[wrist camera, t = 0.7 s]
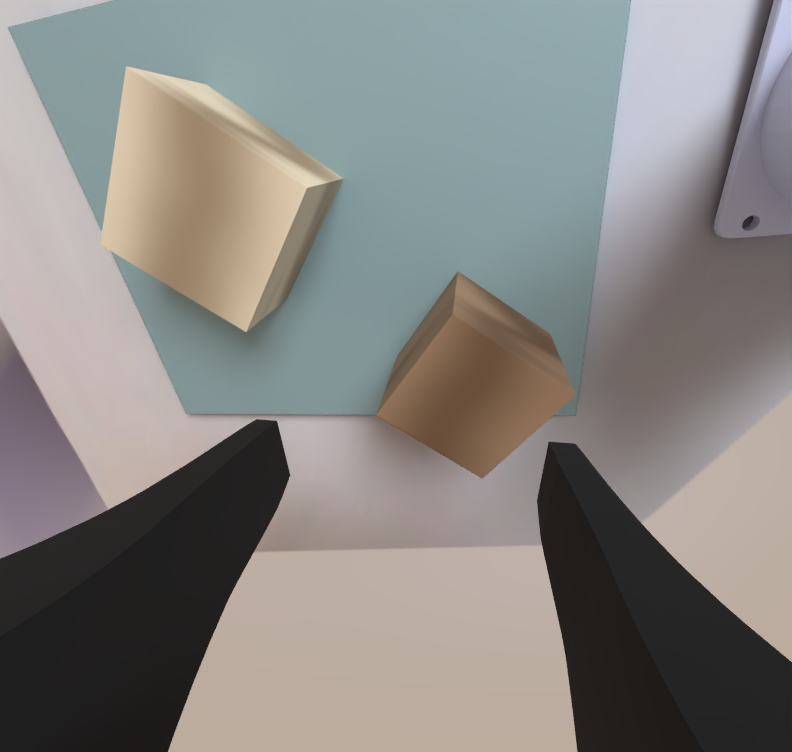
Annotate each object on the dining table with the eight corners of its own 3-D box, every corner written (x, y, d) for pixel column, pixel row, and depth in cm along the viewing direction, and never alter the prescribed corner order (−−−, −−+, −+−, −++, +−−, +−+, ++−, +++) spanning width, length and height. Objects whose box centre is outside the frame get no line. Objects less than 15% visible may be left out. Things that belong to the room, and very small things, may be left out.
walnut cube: (550, 334, 17) (575, 395, 13) (480, 407, 20) (481, 478, 16) (458, 271, 17) (452, 314, 12) (397, 355, 19) (376, 415, 15)
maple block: (343, 178, 16) (307, 188, 12) (287, 297, 19) (246, 332, 15) (206, 84, 15) (125, 66, 11) (171, 225, 18) (100, 244, 14)
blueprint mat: (643, -128, 11) (649, -137, 10) (573, 411, 20) (575, 415, 19) (17, 30, 15) (7, 27, 15) (190, 410, 24) (186, 413, 24)
